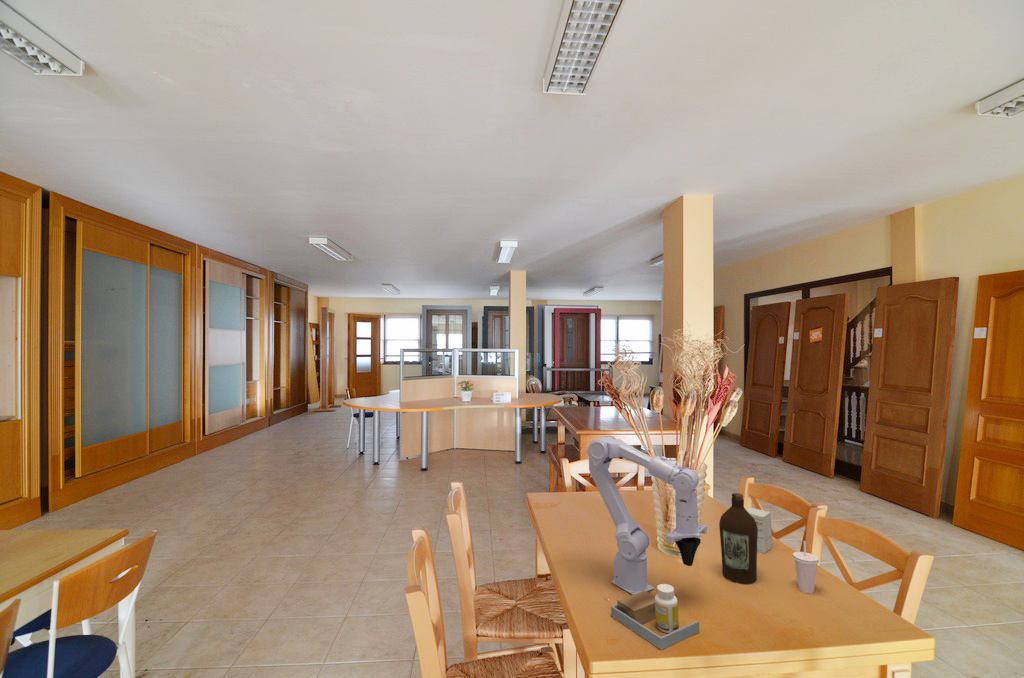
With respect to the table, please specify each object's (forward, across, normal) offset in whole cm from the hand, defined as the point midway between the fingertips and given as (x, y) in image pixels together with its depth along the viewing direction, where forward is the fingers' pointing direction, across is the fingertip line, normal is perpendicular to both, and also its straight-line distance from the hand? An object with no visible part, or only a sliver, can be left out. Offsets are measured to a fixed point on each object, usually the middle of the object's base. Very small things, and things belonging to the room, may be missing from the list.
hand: (687, 564), depth 129 cm
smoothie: (+11, +35, -13) cm, 39 cm away
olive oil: (+11, +26, +2) cm, 28 cm away
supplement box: (+11, +52, +12) cm, 54 cm away
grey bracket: (+10, -16, -2) cm, 19 cm away
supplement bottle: (+10, -14, -5) cm, 18 cm away
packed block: (+10, -16, +2) cm, 19 cm away
